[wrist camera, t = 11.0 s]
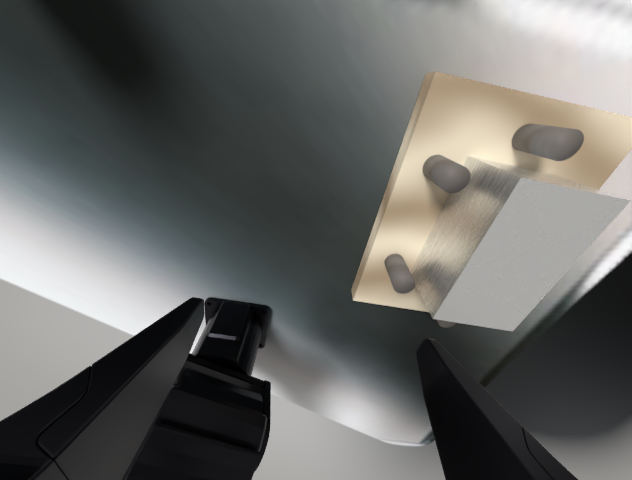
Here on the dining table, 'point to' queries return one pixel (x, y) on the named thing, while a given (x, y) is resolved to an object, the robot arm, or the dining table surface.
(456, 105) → the pin tray
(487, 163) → the block
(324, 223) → the dining table surface
